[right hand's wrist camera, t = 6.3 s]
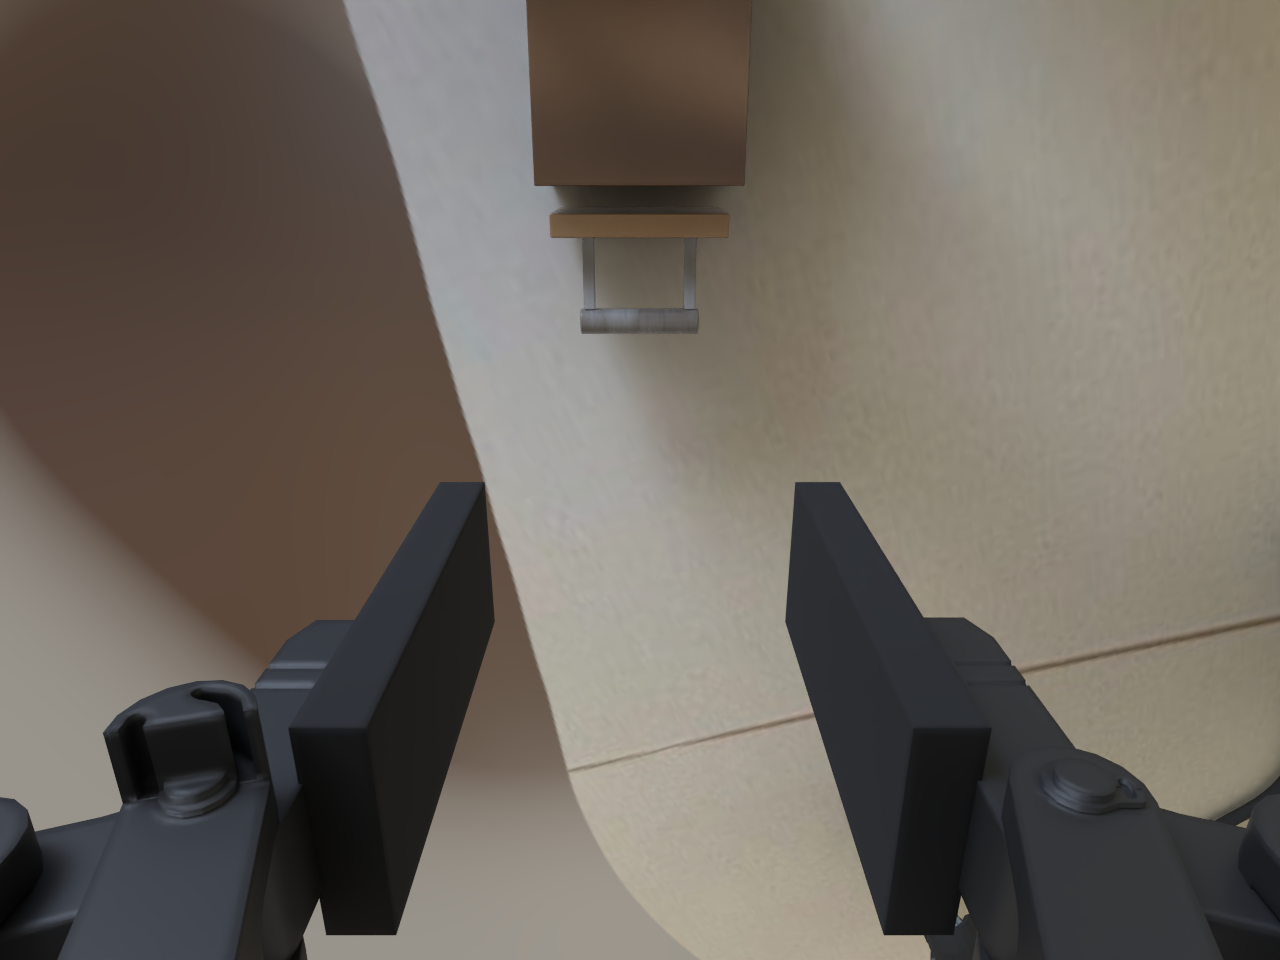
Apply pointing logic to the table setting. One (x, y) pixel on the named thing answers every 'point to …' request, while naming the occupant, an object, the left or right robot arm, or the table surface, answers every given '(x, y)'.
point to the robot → (954, 942)
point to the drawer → (639, 225)
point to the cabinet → (639, 91)
